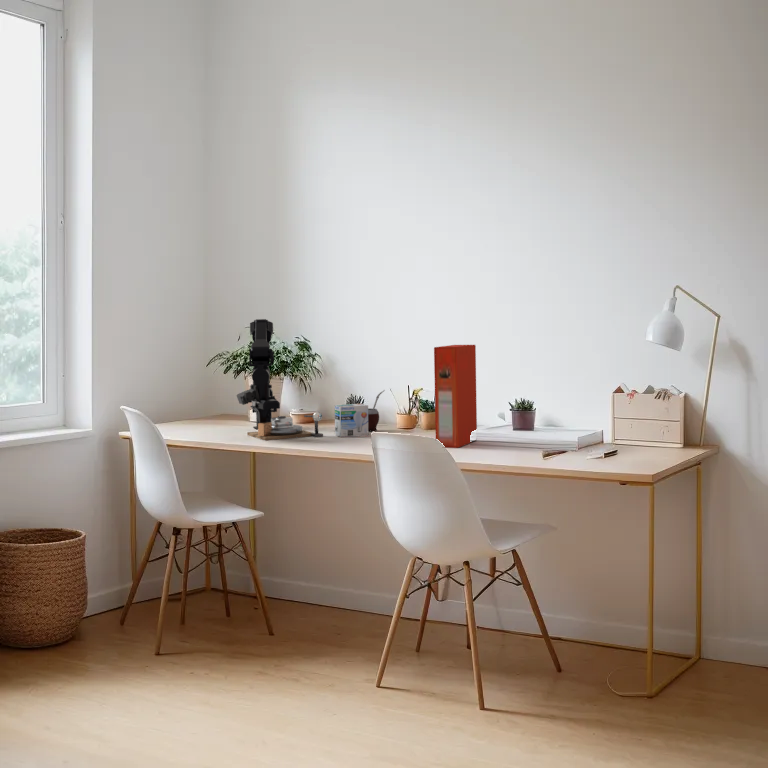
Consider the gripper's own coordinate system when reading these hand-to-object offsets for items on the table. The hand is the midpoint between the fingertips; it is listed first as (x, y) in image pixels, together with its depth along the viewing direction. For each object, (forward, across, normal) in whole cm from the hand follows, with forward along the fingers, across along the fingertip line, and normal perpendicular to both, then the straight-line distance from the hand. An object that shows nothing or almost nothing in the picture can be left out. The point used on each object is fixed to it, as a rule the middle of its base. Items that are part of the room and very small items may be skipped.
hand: (261, 426), depth 345 cm
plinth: (+4, -1, +8) cm, 9 cm away
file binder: (+2, +51, +47) cm, 69 cm away
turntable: (+3, 0, +6) cm, 7 cm away
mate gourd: (+4, +6, +40) cm, 41 cm away
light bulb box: (+4, +12, +29) cm, 32 cm away
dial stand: (+4, +7, +17) cm, 18 cm away
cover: (+1, -1, +8) cm, 8 cm away
